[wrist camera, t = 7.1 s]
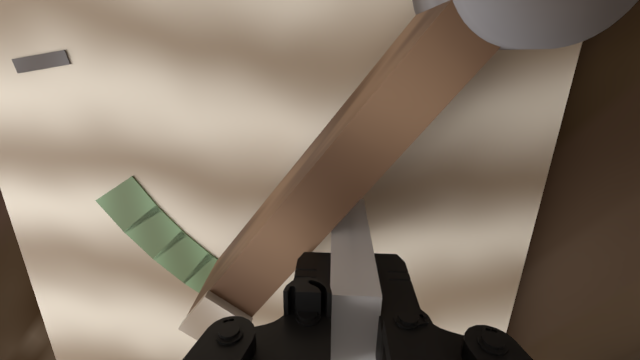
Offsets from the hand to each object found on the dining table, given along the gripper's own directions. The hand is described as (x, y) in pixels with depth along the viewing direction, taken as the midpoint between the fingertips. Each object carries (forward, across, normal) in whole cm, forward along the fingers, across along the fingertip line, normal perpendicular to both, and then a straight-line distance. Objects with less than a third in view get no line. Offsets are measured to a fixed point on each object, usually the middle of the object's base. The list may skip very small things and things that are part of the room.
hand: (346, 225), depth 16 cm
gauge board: (+3, -4, +2) cm, 5 cm away
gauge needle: (+1, 0, +4) cm, 4 cm away
